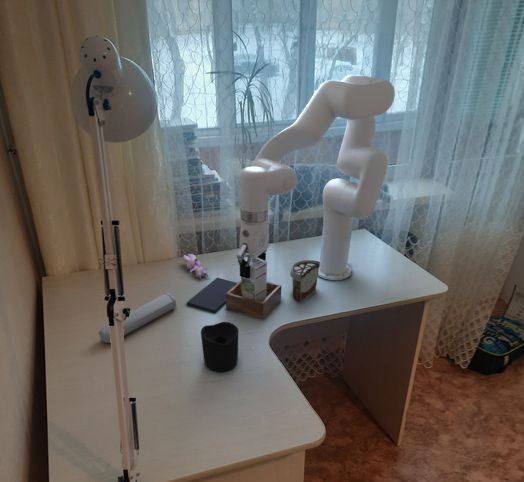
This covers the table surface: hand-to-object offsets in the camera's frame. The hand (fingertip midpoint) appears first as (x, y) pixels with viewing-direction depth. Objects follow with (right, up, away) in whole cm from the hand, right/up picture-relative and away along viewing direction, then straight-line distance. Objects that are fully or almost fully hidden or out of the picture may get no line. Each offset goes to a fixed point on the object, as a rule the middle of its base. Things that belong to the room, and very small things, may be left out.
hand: (252, 270), depth 147 cm
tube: (-33, -17, -3) cm, 37 cm away
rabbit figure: (-20, +4, +25) cm, 32 cm away
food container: (+15, -6, +13) cm, 21 cm away
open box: (0, -9, +7) cm, 12 cm away
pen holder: (-8, -27, -16) cm, 33 cm away
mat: (-12, -6, +11) cm, 17 cm away
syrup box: (0, -9, +7) cm, 12 cm away
